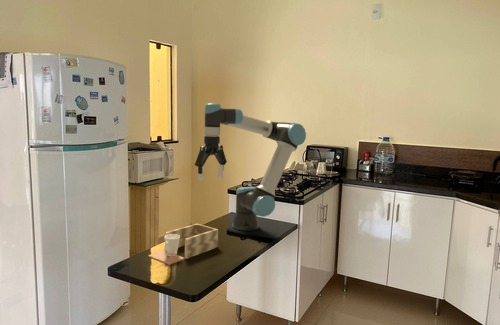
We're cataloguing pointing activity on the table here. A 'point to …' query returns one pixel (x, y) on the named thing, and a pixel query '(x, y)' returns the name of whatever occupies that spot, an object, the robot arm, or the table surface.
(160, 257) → the tailgate
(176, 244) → the cup
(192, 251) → the box
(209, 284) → the table surface
